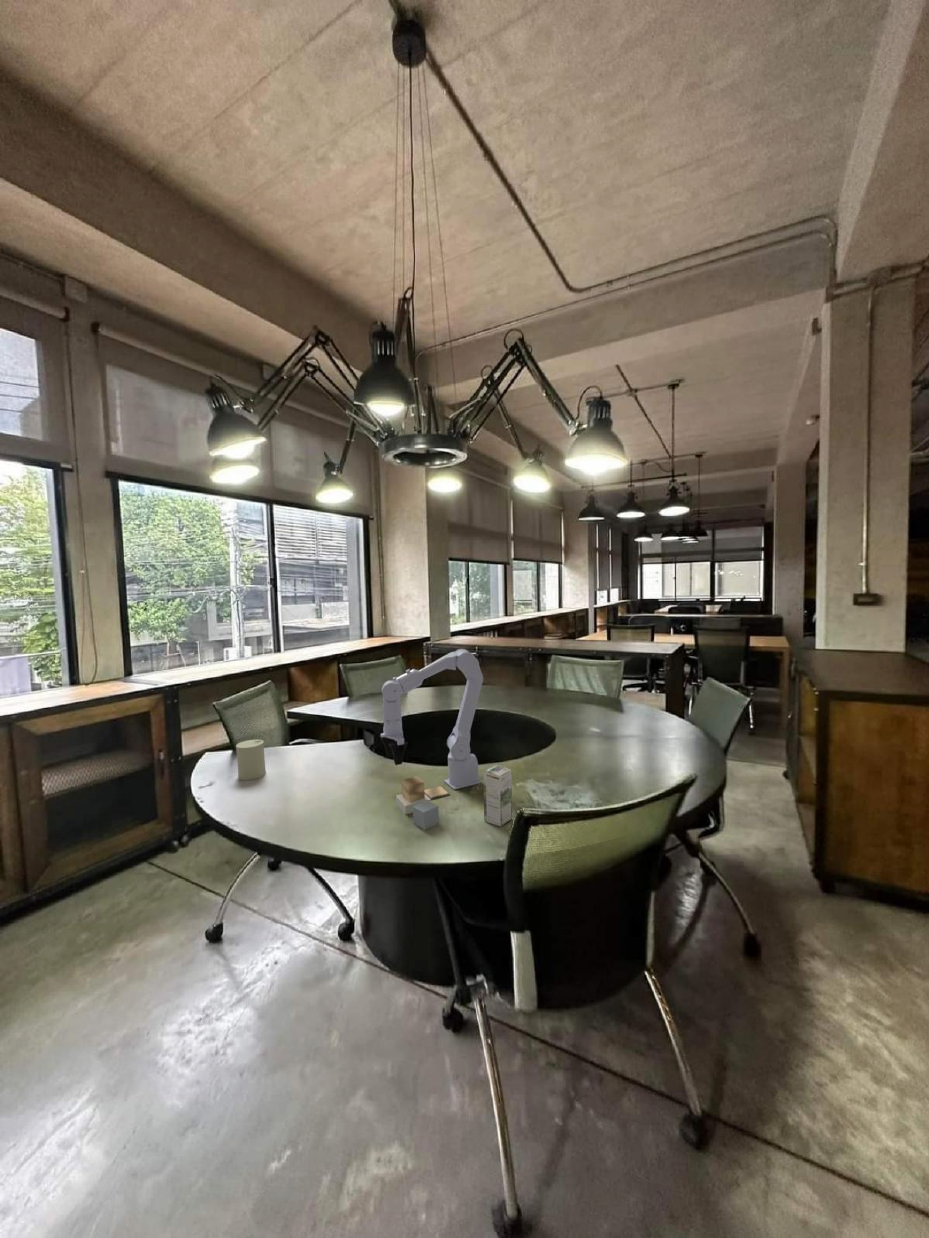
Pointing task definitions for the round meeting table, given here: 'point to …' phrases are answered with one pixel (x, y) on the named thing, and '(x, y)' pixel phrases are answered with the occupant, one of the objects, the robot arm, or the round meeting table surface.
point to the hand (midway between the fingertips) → (394, 760)
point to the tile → (436, 793)
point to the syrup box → (497, 795)
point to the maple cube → (413, 789)
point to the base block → (408, 803)
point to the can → (250, 759)
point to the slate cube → (425, 815)
